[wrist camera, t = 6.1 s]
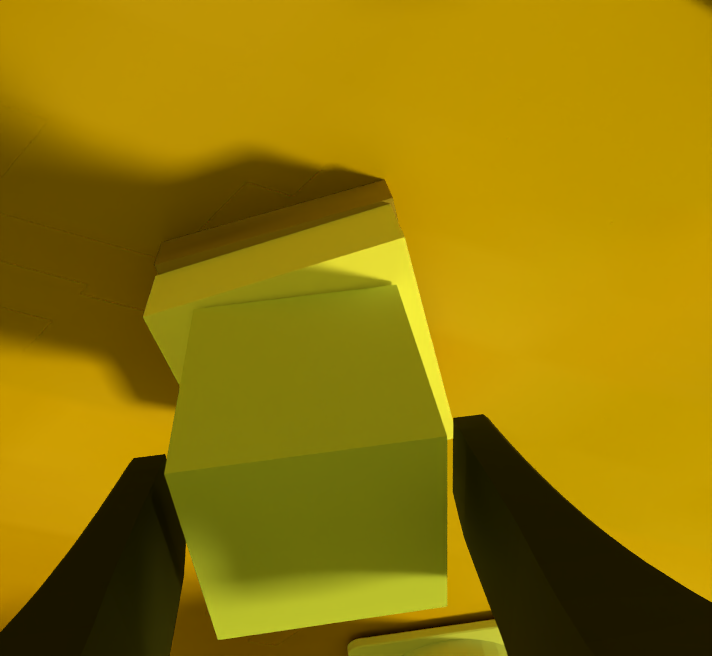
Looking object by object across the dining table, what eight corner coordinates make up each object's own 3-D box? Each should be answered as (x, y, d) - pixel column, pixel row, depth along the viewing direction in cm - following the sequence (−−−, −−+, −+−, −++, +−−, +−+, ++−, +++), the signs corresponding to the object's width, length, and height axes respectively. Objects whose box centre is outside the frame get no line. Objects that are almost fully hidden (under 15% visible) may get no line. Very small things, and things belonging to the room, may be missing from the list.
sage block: (403, 435, 17) (447, 606, 13) (229, 458, 17) (217, 640, 13) (396, 284, 15) (446, 436, 11) (193, 309, 15) (164, 473, 10)
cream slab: (440, 391, 19) (457, 437, 18) (243, 448, 20) (240, 499, 18) (390, 203, 16) (404, 237, 14) (155, 275, 16) (142, 317, 15)
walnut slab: (423, 350, 21) (437, 388, 19) (239, 400, 21) (237, 442, 19) (380, 171, 18) (392, 197, 16) (164, 232, 18) (154, 264, 16)
